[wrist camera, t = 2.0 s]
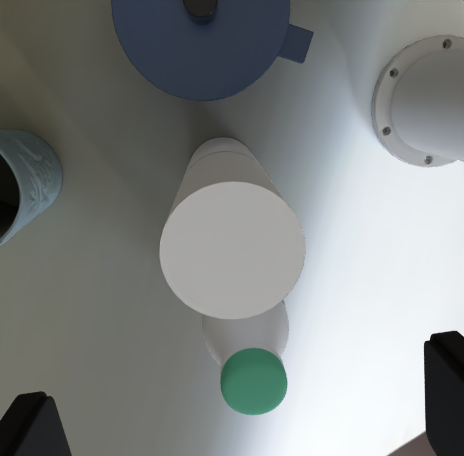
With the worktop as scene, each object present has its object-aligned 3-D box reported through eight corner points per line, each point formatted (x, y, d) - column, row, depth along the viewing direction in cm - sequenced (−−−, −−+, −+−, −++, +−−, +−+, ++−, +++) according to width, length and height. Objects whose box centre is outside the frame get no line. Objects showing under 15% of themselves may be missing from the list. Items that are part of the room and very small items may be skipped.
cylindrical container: (202, 126, 44) (188, 158, 20) (267, 152, 45) (329, 212, 21) (178, 191, 46) (140, 293, 22) (241, 214, 47) (271, 336, 23)
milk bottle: (229, 318, 50) (240, 454, 31) (189, 267, 48) (174, 379, 29) (285, 282, 49) (332, 399, 30) (247, 229, 47) (271, 317, 28)
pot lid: (137, -119, 31) (125, -154, 27) (311, -54, 33) (326, -77, 28) (97, 71, 35) (81, 67, 30) (257, 121, 36) (263, 124, 32)
